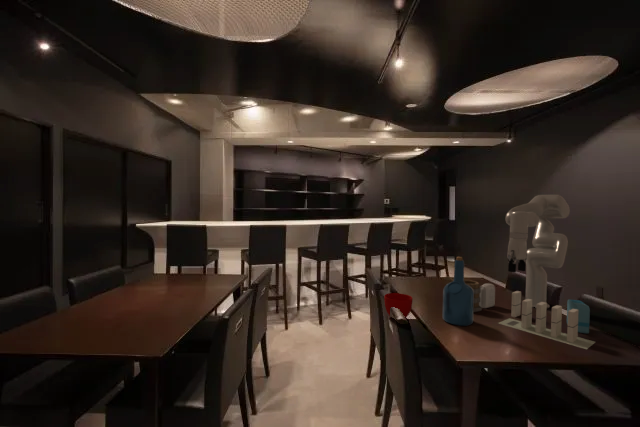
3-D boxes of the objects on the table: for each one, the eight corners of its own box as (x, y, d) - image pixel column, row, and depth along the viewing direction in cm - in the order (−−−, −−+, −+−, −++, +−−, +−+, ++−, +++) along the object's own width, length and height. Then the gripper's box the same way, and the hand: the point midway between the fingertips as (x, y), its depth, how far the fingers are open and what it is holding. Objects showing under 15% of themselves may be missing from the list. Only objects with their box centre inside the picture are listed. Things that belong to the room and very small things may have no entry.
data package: (589, 335, 134) (590, 307, 134) (576, 333, 136) (577, 305, 135) (578, 325, 145) (579, 299, 145) (566, 324, 147) (567, 298, 147)
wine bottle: (449, 314, 156) (451, 254, 156) (477, 322, 147) (479, 257, 146) (436, 321, 146) (438, 256, 146) (466, 329, 137) (468, 260, 136)
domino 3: (540, 328, 139) (541, 301, 138) (545, 330, 137) (546, 302, 137) (535, 331, 135) (536, 304, 135) (540, 333, 134) (541, 305, 133)
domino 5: (571, 337, 130) (573, 308, 130) (577, 339, 128) (578, 309, 128) (566, 341, 126) (568, 311, 126) (572, 342, 125) (573, 312, 125)
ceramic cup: (410, 312, 159) (411, 292, 159) (412, 323, 142) (413, 301, 142) (384, 309, 162) (384, 290, 161) (383, 320, 145) (384, 299, 145)
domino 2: (526, 325, 143) (527, 298, 143) (531, 326, 142) (532, 299, 141) (521, 327, 139) (522, 300, 139) (525, 329, 138) (526, 301, 138)
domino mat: (509, 319, 152) (509, 318, 152) (595, 342, 126) (595, 341, 126) (497, 324, 145) (497, 323, 145) (586, 350, 119) (586, 349, 119)
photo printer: (487, 304, 176) (488, 281, 176) (495, 306, 172) (496, 283, 172) (477, 306, 170) (478, 283, 170) (485, 309, 167) (486, 285, 166)
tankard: (485, 309, 166) (486, 281, 166) (472, 313, 159) (473, 283, 158) (450, 299, 182) (451, 273, 182) (437, 303, 175) (438, 276, 175)
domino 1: (516, 314, 158) (517, 290, 158) (520, 315, 157) (521, 291, 157) (511, 316, 155) (511, 292, 155) (515, 318, 153) (516, 293, 153)
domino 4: (555, 333, 134) (556, 305, 134) (561, 334, 133) (562, 306, 133) (550, 336, 131) (551, 307, 130) (555, 337, 129) (557, 308, 129)
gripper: (518, 236, 163) (517, 269, 163) (501, 235, 154) (499, 271, 154) (535, 237, 157) (533, 271, 157) (518, 237, 148) (516, 273, 148)
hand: (516, 271), depth 156 cm, fingers open, 9 cm apart
